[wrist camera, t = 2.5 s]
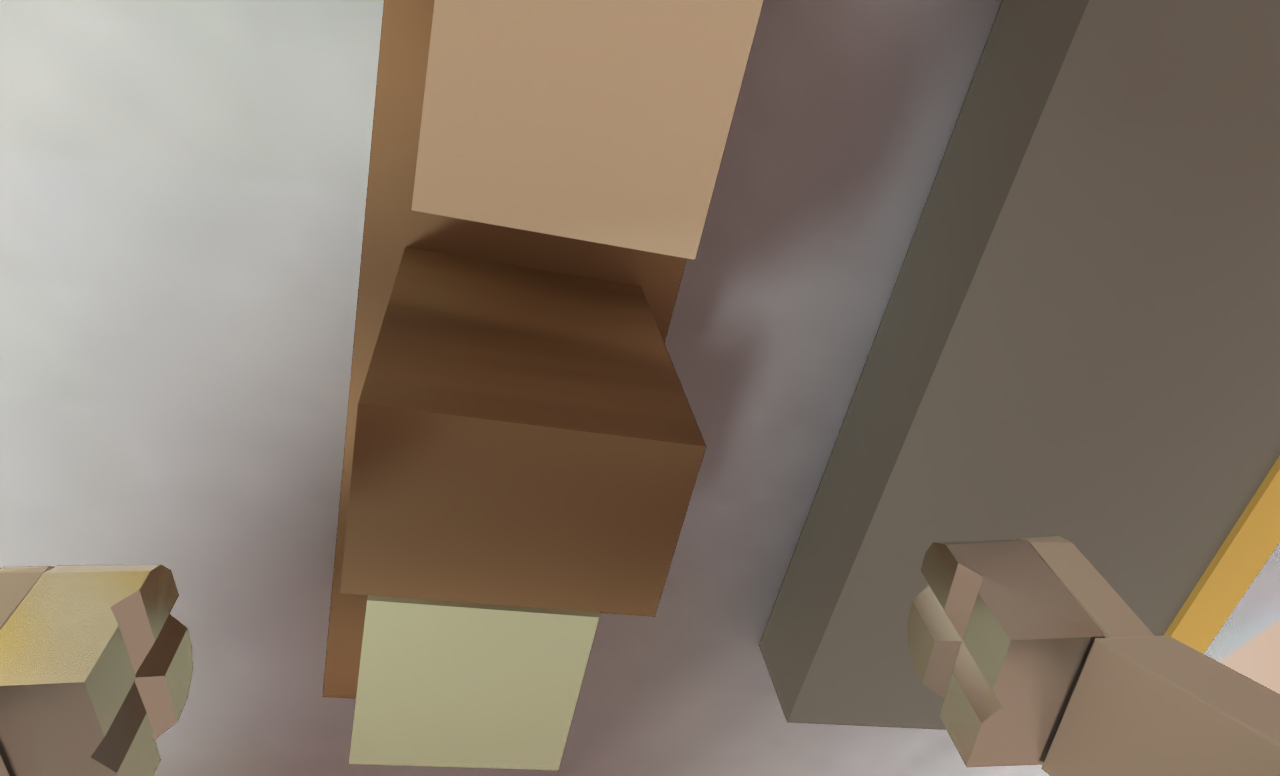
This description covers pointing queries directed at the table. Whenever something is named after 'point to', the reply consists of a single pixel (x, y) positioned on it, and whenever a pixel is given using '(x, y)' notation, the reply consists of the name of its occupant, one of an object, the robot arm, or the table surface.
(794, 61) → the table surface
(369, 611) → the block
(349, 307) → the table surface
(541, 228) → the block
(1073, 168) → the dock
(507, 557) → the wooden toy cargo boat
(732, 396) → the table surface
